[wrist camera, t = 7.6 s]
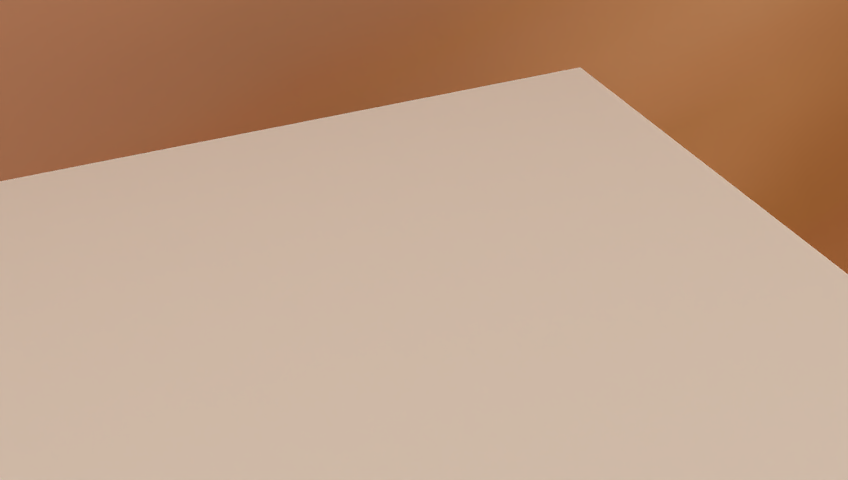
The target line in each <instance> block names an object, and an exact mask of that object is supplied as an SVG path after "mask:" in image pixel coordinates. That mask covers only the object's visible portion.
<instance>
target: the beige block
mask: <svg viewBox="0 0 848 480" xmlns="http://www.w3.org/2000/svg"><path fill="white" fill-rule="evenodd" d="M0 480H848V274H847V273H845V272H844V271H843V270H841V269H840V268H839V267H838V266H836V265H835V264H834V263H832V262H831V261H830V260H828V259H827V258H826V257H825V256H823V255H822V254H821V253H819V252H818V251H817V250H816V249H814V248H813V247H812V246H810V245H809V244H808V243H807V242H805V241H804V240H803V239H801V238H800V237H799V236H797V235H796V234H795V233H794V232H792V231H791V230H790V229H788V228H787V227H786V226H785V225H783V224H782V223H781V222H779V221H778V220H777V219H776V218H774V217H773V216H772V215H770V214H769V213H768V212H766V211H765V210H764V209H763V208H761V207H760V206H759V205H757V204H756V203H755V202H754V201H752V200H751V199H750V198H748V197H747V196H746V195H744V194H743V193H742V192H741V191H739V190H738V189H737V188H735V187H734V186H733V185H732V184H730V183H729V182H728V181H726V180H725V179H724V178H723V177H721V176H720V175H719V174H717V173H716V172H715V171H713V170H712V169H711V168H710V167H708V166H707V165H706V164H704V163H703V162H702V161H701V160H699V159H698V158H697V157H695V156H694V155H693V154H692V153H690V152H689V151H688V150H686V149H685V148H684V147H682V146H681V145H680V144H679V143H677V142H676V141H675V140H673V139H672V138H671V137H670V136H668V135H667V134H666V133H664V132H663V131H662V130H660V129H659V128H658V127H657V126H655V125H654V124H653V123H651V122H650V121H649V120H648V119H646V118H645V117H644V116H642V115H641V114H640V113H639V112H637V111H636V110H635V109H633V108H632V107H631V106H629V105H628V104H627V103H626V102H624V101H623V100H622V99H620V98H619V97H618V96H617V95H615V94H614V93H613V92H611V91H610V90H609V89H607V88H606V87H605V86H604V85H602V84H601V83H600V82H598V81H597V80H596V79H595V78H593V77H592V76H591V75H589V74H588V73H587V72H586V71H584V70H583V69H582V68H575V69H569V70H564V71H559V72H554V73H549V74H544V75H539V76H534V77H529V78H524V79H519V80H514V81H508V82H503V83H498V84H493V85H488V86H483V87H478V88H473V89H468V90H463V91H458V92H453V93H448V94H442V95H437V96H432V97H427V98H422V99H417V100H412V101H407V102H402V103H397V104H392V105H387V106H381V107H376V108H371V109H366V110H361V111H356V112H351V113H346V114H341V115H336V116H331V117H326V118H321V119H315V120H310V121H305V122H300V123H295V124H290V125H285V126H280V127H275V128H270V129H265V130H260V131H254V132H249V133H244V134H239V135H234V136H229V137H224V138H219V139H214V140H209V141H204V142H199V143H194V144H188V145H183V146H178V147H173V148H168V149H163V150H158V151H153V152H148V153H143V154H138V155H133V156H127V157H122V158H117V159H112V160H107V161H102V162H97V163H92V164H87V165H82V166H77V167H72V168H67V169H61V170H56V171H51V172H46V173H41V174H36V175H31V176H26V177H21V178H16V179H11V180H6V181H0Z"/></svg>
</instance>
